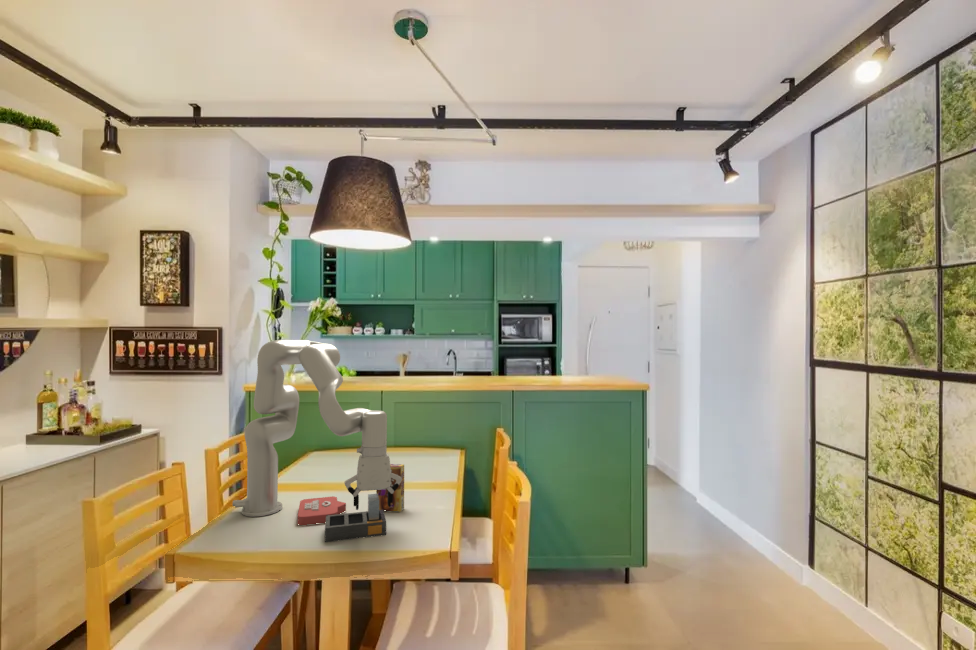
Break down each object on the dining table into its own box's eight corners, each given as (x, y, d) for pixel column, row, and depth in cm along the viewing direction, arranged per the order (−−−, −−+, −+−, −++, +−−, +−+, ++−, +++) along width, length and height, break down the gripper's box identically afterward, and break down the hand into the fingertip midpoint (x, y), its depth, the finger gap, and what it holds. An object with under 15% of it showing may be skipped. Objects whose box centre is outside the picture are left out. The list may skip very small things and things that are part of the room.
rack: (324, 542, 138) (325, 528, 138) (325, 528, 148) (326, 515, 148) (386, 535, 143) (386, 521, 143) (383, 522, 153) (383, 509, 154)
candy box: (404, 508, 166) (405, 464, 167) (400, 512, 162) (401, 467, 162) (380, 506, 167) (380, 463, 168) (375, 511, 163) (375, 466, 164)
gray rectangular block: (368, 534, 144) (368, 501, 144) (367, 526, 150) (368, 494, 150) (378, 533, 144) (379, 500, 145) (377, 525, 151) (377, 493, 151)
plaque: (346, 510, 155) (297, 515, 150) (346, 522, 155) (297, 528, 150) (345, 493, 172) (300, 497, 167) (345, 504, 172) (300, 508, 167)
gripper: (345, 455, 142) (344, 514, 142) (403, 452, 147) (402, 508, 147) (344, 450, 149) (343, 505, 149) (400, 446, 154) (400, 500, 154)
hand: (373, 506), depth 148 cm, fingers open, 9 cm apart
